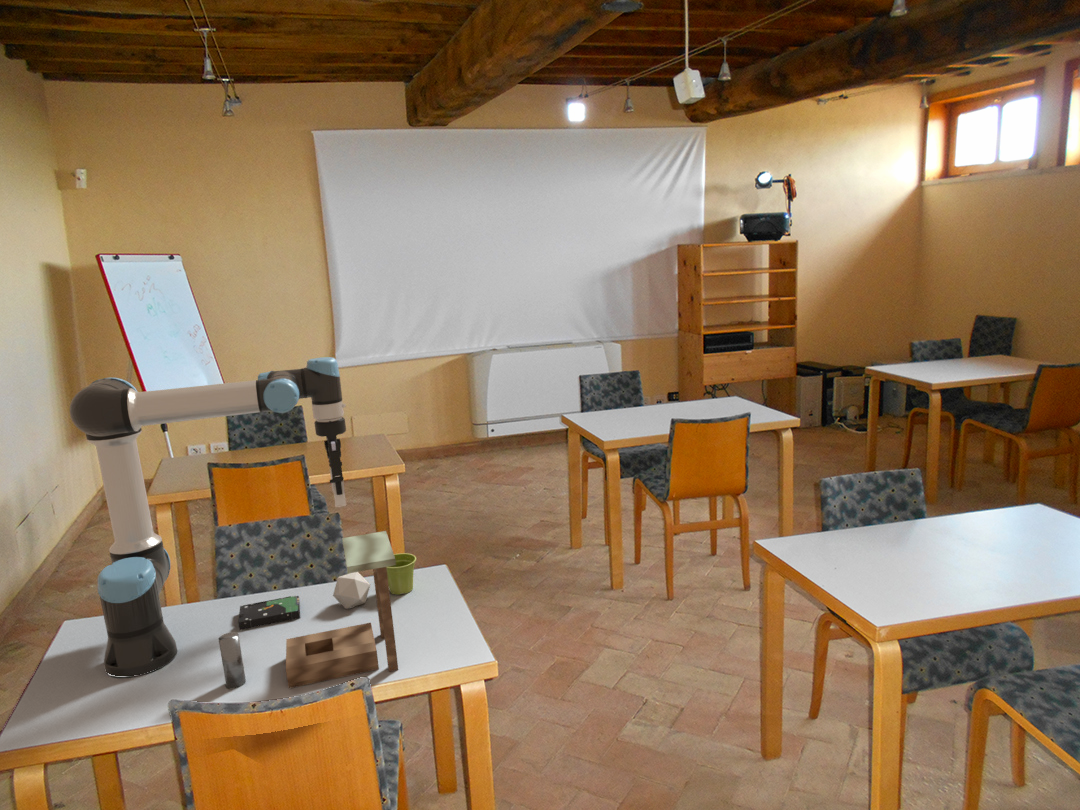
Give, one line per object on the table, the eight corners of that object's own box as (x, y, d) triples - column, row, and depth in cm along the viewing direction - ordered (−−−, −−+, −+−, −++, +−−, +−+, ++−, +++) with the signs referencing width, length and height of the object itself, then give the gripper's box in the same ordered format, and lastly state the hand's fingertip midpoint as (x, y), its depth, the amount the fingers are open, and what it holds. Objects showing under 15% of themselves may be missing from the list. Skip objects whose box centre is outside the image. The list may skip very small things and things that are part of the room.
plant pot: (426, 585, 213) (422, 555, 211) (406, 600, 205) (402, 569, 203) (397, 581, 217) (394, 551, 215) (377, 595, 209) (373, 565, 207)
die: (364, 595, 211) (337, 570, 208) (382, 586, 205) (355, 560, 203) (347, 619, 204) (320, 593, 202) (366, 610, 199) (338, 583, 197)
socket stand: (288, 693, 164) (271, 580, 159) (289, 653, 181) (274, 549, 176) (407, 667, 171) (395, 558, 166) (397, 631, 188) (385, 530, 183)
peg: (225, 690, 167) (217, 643, 165) (227, 680, 171) (219, 634, 169) (245, 686, 168) (237, 639, 166) (246, 676, 172) (239, 630, 170)
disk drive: (239, 633, 194) (301, 619, 199) (237, 622, 194) (299, 609, 198) (241, 615, 204) (300, 603, 208) (239, 605, 203) (298, 593, 208)
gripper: (347, 426, 188) (357, 510, 192) (341, 408, 211) (350, 483, 215) (315, 430, 185) (326, 515, 190) (312, 411, 209) (322, 487, 213)
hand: (339, 498), depth 203 cm, fingers open, 13 cm apart
